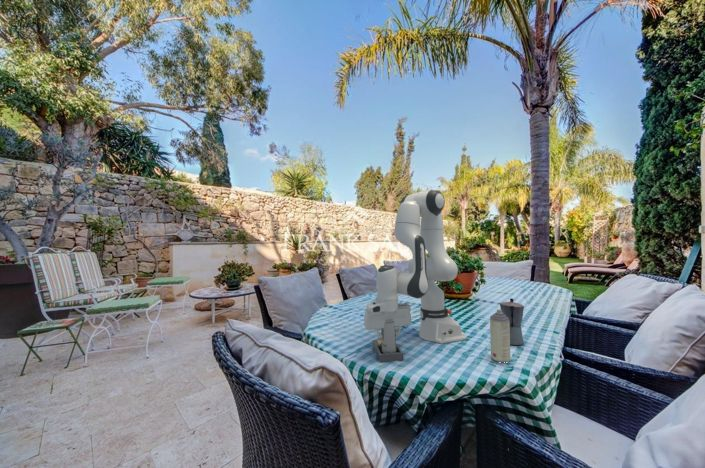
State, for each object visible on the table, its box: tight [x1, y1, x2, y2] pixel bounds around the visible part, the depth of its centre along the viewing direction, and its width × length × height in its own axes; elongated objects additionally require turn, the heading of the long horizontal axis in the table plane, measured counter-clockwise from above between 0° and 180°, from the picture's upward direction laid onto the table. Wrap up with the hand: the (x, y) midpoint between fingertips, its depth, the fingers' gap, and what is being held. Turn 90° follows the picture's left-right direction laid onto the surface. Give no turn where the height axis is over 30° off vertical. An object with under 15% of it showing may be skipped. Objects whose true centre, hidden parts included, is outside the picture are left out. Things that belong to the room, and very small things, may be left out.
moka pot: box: [499, 297, 525, 346], centre depth 125 cm, size 10×15×20 cm, turn 155°
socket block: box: [371, 339, 404, 363], centre depth 118 cm, size 10×15×3 cm, turn 7°
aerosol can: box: [489, 308, 511, 364], centre depth 109 cm, size 7×7×20 cm
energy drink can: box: [380, 319, 397, 354], centre depth 115 cm, size 6×6×15 cm
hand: (388, 337), depth 115 cm, fingers closed on energy drink can, 6 cm apart
